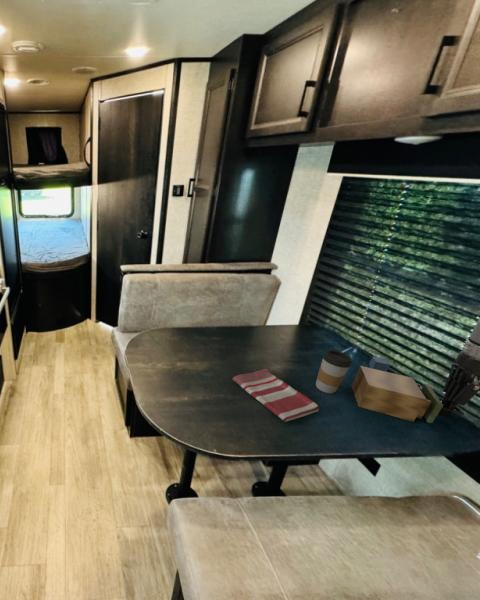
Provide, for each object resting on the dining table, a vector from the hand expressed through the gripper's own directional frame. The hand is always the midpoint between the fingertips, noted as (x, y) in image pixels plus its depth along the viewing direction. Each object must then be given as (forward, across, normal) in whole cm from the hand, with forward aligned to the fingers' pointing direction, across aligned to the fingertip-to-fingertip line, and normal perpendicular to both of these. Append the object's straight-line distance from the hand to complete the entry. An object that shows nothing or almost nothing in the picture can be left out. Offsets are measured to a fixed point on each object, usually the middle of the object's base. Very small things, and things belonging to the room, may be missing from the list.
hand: (442, 414), depth 105 cm
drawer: (+1, 0, -7) cm, 7 cm away
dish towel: (+2, +14, -50) cm, 52 cm away
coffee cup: (+2, 0, -32) cm, 32 cm away
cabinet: (+2, 0, -16) cm, 16 cm away
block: (+2, -25, -11) cm, 27 cm away
